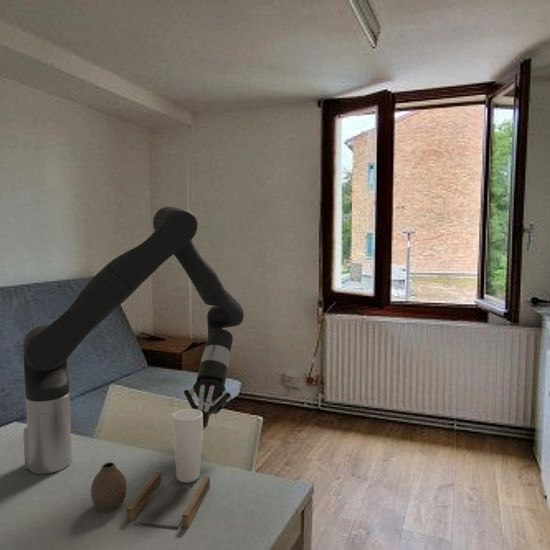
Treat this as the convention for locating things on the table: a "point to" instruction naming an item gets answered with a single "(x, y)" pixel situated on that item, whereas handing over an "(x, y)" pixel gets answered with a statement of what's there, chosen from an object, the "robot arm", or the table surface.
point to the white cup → (187, 443)
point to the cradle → (167, 503)
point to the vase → (108, 488)
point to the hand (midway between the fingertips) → (200, 428)
